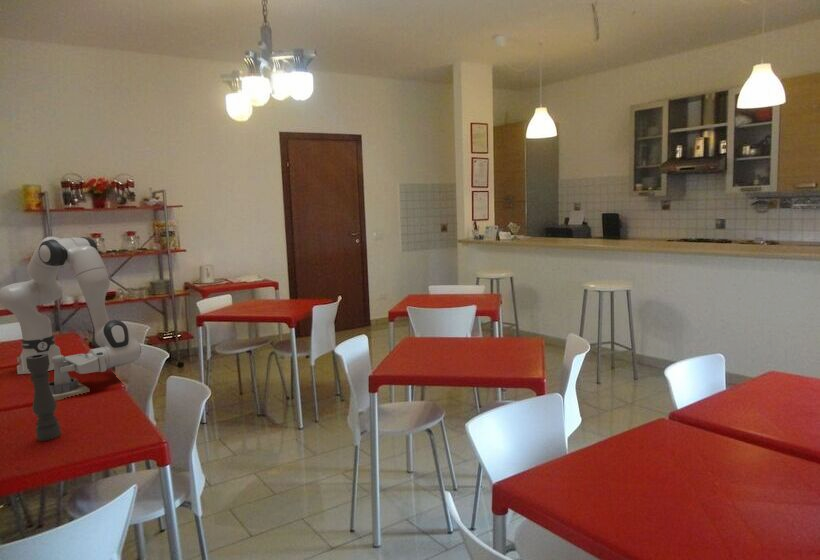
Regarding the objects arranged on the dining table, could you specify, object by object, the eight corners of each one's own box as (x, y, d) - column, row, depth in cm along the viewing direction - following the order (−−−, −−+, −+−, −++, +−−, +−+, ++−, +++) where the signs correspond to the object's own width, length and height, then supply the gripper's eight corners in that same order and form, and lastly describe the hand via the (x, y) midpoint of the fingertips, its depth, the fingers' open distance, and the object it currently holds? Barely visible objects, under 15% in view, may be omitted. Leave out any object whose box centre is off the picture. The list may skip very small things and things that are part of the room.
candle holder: (43, 433, 183) (31, 354, 179) (64, 431, 183) (53, 352, 180) (33, 441, 177) (20, 359, 173) (54, 439, 177) (42, 358, 174)
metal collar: (44, 391, 223) (42, 383, 222) (73, 383, 230) (72, 376, 229) (51, 396, 216) (50, 388, 215) (81, 388, 223) (80, 381, 222)
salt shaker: (76, 386, 226) (70, 353, 223) (66, 391, 220) (60, 357, 218) (61, 387, 226) (55, 354, 224) (51, 392, 220) (45, 358, 218)
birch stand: (37, 395, 223) (36, 391, 223) (78, 385, 233) (77, 381, 233) (47, 402, 213) (47, 398, 213) (89, 392, 223) (89, 388, 223)
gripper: (87, 348, 237) (47, 356, 228) (105, 355, 223) (64, 364, 213) (89, 363, 238) (50, 372, 229) (107, 371, 224) (66, 381, 214)
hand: (57, 368), depth 221 cm, fingers open, 5 cm apart
